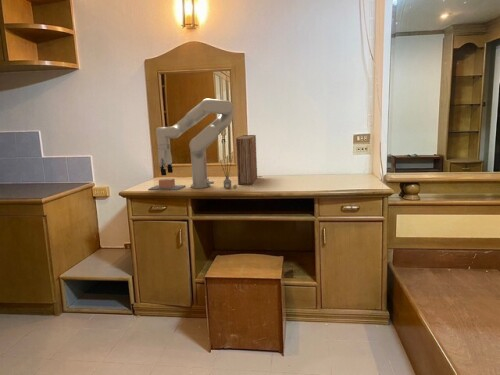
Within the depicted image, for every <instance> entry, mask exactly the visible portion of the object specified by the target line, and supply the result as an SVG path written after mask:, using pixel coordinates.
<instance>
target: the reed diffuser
mask: <svg viewBox="0 0 500 375" xmlns="http://www.w3.org/2000/svg"><path fill="white" fill-rule="evenodd" d="M231 158H234V157H233V155H232V156H231ZM218 159H219V162H220V164H221V167H222V170H223V172H224V175H225V176H224V177H225V179H224V180H223V188H226V189H227V188H232V187H233V189H237V188H238V185H237V184H236V183H235V184H234V185H233V186H232V180H231V179H230V177H229V175H230V173H229V172H230V170H231V168H229V167H232V166H231V165H232V161H233V159H231V160H230V164H228V163H229V162H228V159H229V158H228V155H227V156H226V160H227V161H226V160H225V159H223V161H224V163H226V165H224V167H225V169H224V167H223V163H222V161H221V159H220V157H218ZM228 165H229V167H228ZM228 168H229V170H228ZM225 170H226V171H225Z"/></svg>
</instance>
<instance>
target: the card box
mask: <svg viewBox="0 0 500 375" xmlns="http://www.w3.org/2000/svg"><path fill="white" fill-rule="evenodd" d="M158 185H159V188H173V187H175V185H176V181H175V178H161V179H159V180H158Z"/></svg>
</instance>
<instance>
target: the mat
mask: <svg viewBox="0 0 500 375" xmlns="http://www.w3.org/2000/svg"><path fill="white" fill-rule="evenodd" d="M184 188H186V185H185V184H184V185H176V184H175V187H173V188H159V184H158V185H155V186H152V187H150V188H148V191H179V190H181V189H184Z"/></svg>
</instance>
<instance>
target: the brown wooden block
mask: <svg viewBox="0 0 500 375" xmlns="http://www.w3.org/2000/svg"><path fill="white" fill-rule="evenodd" d="M256 135H257V134H251V135H249V134H245V135H240V136H237V137H235V146H236V164H237V184H238V185H239V186H240V185H243V184H244V185H247V184H248V185H250V184H251V185H253V184H254V183H255V182H256V180H257V179H258V166H257V164H258V163H257V138H256ZM238 185H237V186H238Z"/></svg>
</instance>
